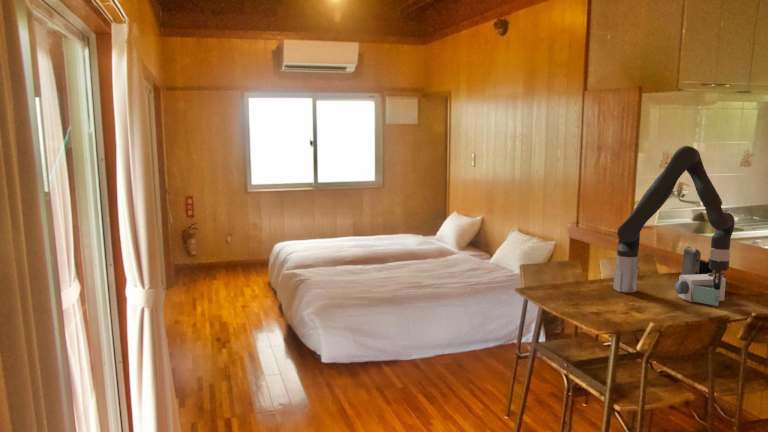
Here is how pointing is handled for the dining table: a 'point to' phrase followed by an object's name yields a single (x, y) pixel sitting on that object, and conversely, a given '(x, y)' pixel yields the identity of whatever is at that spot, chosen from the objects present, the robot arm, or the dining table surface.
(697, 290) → the side door
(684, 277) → the camera body
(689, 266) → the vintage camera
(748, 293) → the dining table surface
